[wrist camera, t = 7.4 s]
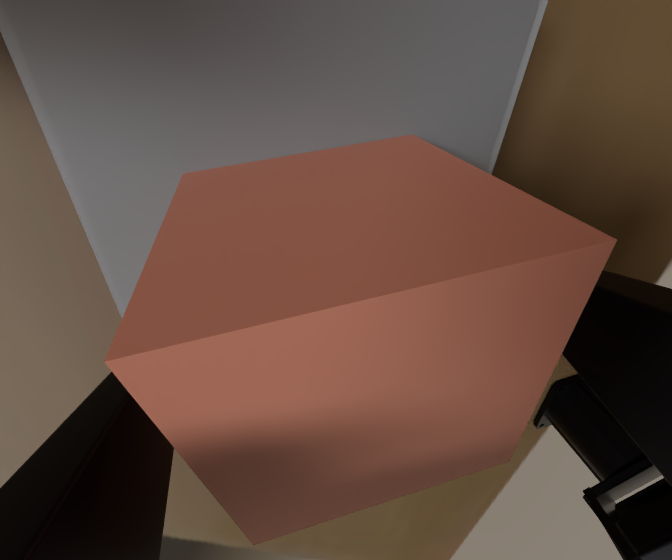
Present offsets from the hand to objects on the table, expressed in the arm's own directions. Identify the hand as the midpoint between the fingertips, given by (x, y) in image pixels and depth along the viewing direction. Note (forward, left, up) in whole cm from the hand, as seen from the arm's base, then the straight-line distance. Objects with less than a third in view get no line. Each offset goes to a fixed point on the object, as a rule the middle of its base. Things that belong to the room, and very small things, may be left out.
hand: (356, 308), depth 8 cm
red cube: (0, 0, -3) cm, 3 cm away
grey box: (0, +1, -7) cm, 7 cm away
